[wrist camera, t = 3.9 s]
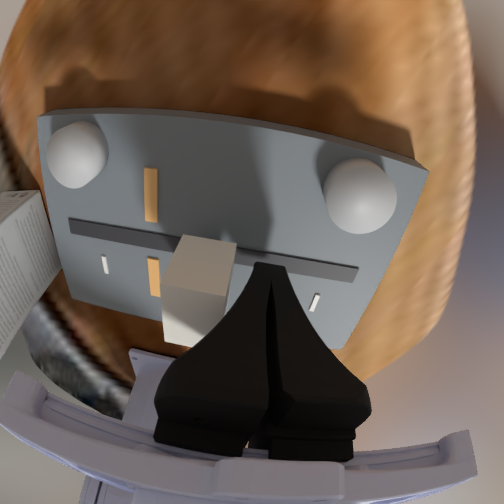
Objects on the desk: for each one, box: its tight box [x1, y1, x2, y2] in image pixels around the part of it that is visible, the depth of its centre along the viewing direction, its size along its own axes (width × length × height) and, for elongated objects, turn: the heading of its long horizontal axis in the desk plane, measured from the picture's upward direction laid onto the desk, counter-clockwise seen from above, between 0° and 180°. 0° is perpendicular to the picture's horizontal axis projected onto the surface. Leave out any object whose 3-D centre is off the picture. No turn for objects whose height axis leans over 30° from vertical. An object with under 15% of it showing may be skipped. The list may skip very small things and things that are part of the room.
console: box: [37, 108, 429, 350], centre depth 14 cm, size 12×18×3 cm, turn 81°
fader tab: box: [160, 234, 237, 347], centre depth 12 cm, size 3×2×4 cm
